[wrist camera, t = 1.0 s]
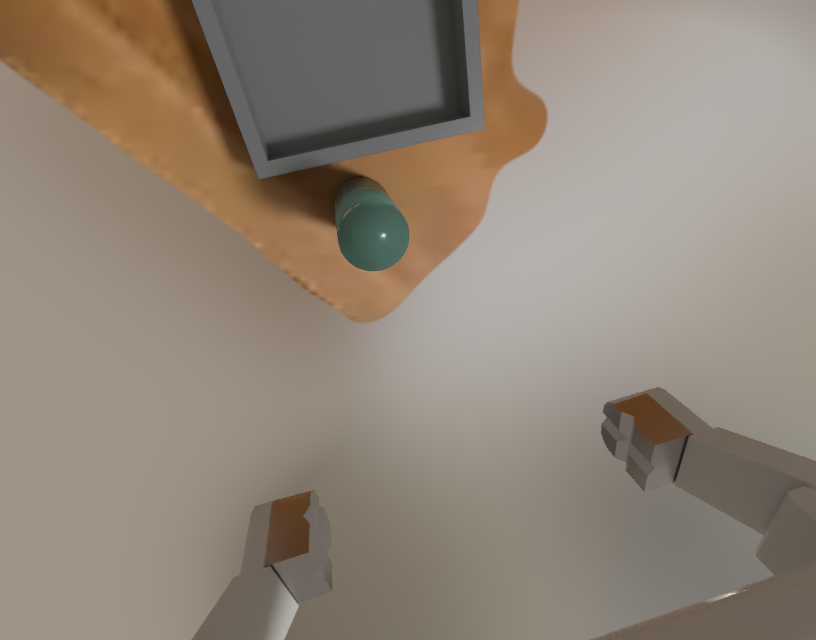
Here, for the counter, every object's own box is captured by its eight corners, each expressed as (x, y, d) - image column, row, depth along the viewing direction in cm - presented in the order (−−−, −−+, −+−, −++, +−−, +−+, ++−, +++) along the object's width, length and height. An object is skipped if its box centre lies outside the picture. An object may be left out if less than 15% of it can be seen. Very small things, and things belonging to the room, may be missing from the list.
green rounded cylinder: (326, 183, 36) (329, 211, 28) (382, 171, 36) (402, 193, 28) (341, 238, 39) (348, 278, 31) (394, 226, 40) (414, 261, 31)
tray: (143, -157, 24) (119, -192, 21) (446, -202, 25) (463, -241, 22) (263, 172, 34) (258, 179, 31) (471, 126, 36) (484, 128, 33)
